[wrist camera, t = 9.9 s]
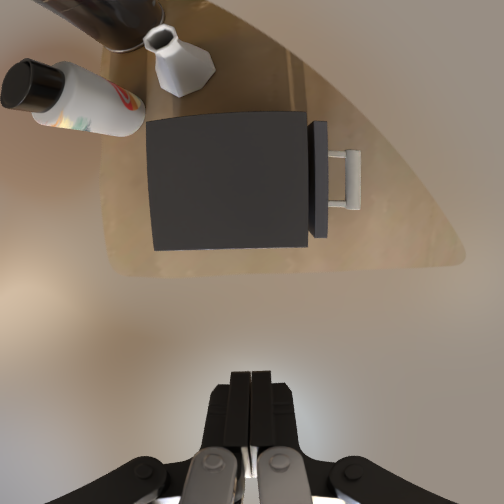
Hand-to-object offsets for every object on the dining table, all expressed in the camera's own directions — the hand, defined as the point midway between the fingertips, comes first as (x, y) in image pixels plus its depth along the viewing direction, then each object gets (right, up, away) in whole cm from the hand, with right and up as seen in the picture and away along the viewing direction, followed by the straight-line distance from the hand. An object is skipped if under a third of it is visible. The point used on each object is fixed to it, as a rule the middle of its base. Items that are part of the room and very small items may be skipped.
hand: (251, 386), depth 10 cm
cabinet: (-2, +14, +22) cm, 26 cm away
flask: (-8, +27, +18) cm, 34 cm away
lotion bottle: (-16, +22, +19) cm, 33 cm away
